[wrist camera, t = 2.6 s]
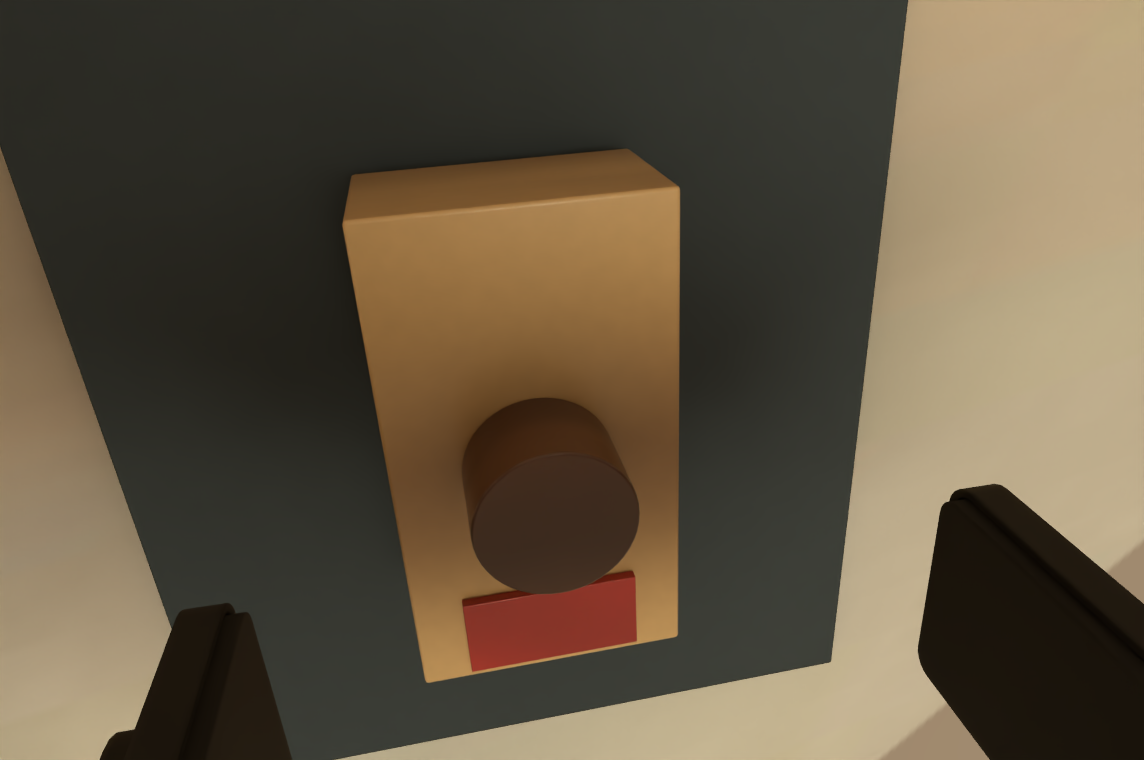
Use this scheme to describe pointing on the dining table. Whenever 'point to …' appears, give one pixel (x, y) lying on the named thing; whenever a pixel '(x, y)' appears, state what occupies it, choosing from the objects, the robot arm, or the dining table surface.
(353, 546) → the desk mat
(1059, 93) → the dining table surface
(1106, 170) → the dining table surface
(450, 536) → the stamp
